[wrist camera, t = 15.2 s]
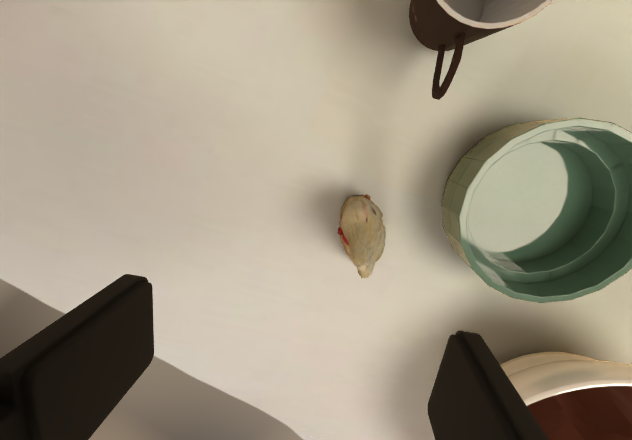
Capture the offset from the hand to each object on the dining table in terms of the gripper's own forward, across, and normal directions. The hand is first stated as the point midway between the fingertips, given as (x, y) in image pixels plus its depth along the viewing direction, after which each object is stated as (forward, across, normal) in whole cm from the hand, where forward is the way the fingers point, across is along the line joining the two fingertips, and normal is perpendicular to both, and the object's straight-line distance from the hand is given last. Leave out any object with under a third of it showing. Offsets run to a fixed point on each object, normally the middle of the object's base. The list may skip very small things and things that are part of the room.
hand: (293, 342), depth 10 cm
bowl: (+23, -19, -2) cm, 30 cm away
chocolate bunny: (+23, -4, +3) cm, 24 cm away
